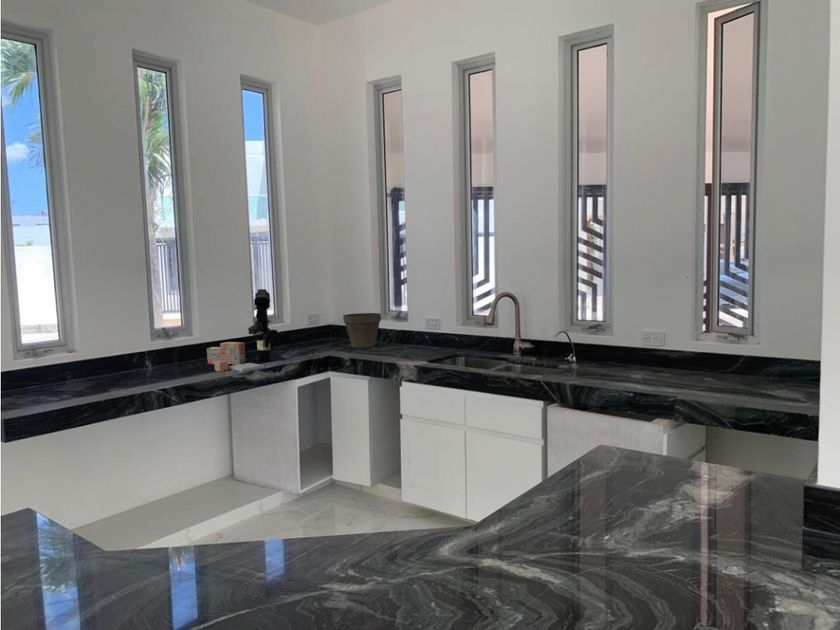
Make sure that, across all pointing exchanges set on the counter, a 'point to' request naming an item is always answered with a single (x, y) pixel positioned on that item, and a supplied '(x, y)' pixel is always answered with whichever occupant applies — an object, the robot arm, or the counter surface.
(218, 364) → the brownish pink cube
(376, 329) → the plant pot
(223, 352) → the stack of blocks
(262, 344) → the beech brick
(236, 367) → the baseplate
